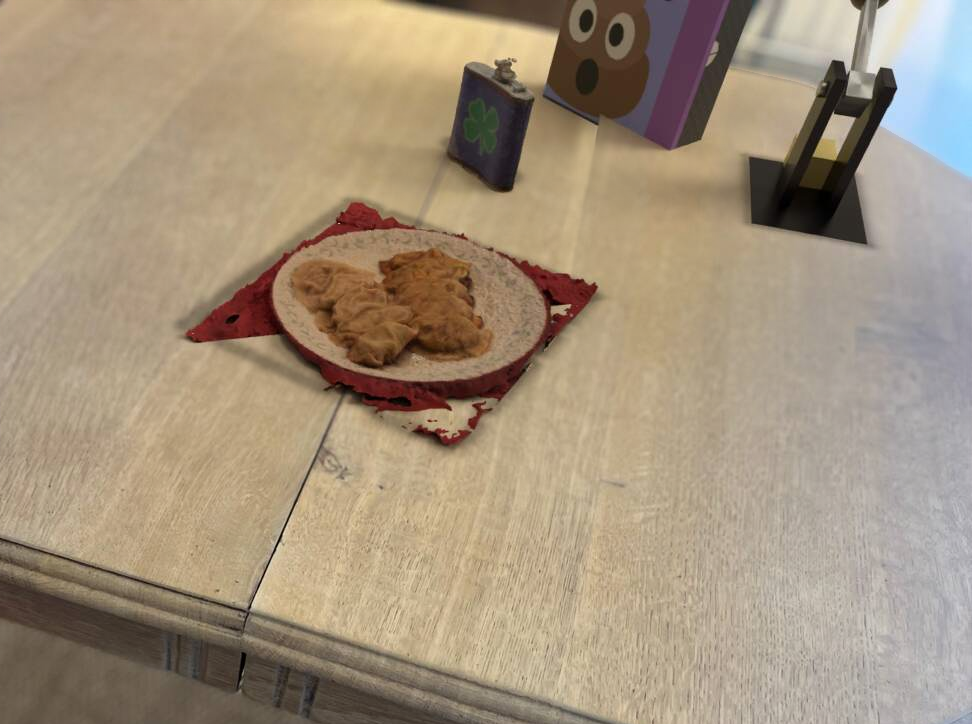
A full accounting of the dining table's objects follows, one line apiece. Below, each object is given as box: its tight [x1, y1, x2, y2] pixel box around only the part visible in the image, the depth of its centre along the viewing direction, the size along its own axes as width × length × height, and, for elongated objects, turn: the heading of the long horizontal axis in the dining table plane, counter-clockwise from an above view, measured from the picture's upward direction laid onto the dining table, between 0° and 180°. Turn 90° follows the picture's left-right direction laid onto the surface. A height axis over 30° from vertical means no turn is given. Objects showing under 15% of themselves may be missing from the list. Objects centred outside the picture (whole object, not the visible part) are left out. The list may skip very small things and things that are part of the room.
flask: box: [446, 57, 535, 194], centre depth 100 cm, size 9×3×11 cm, turn 28°
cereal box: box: [542, 0, 755, 151], centre depth 104 cm, size 17×5×24 cm, turn 33°
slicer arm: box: [833, 0, 890, 118], centre depth 94 cm, size 15×4×4 cm, turn 162°
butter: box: [782, 133, 838, 190], centre depth 102 cm, size 5×4×3 cm
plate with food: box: [184, 201, 599, 446], centre depth 85 cm, size 24×26×4 cm
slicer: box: [748, 59, 898, 246], centre depth 96 cm, size 14×10×13 cm
